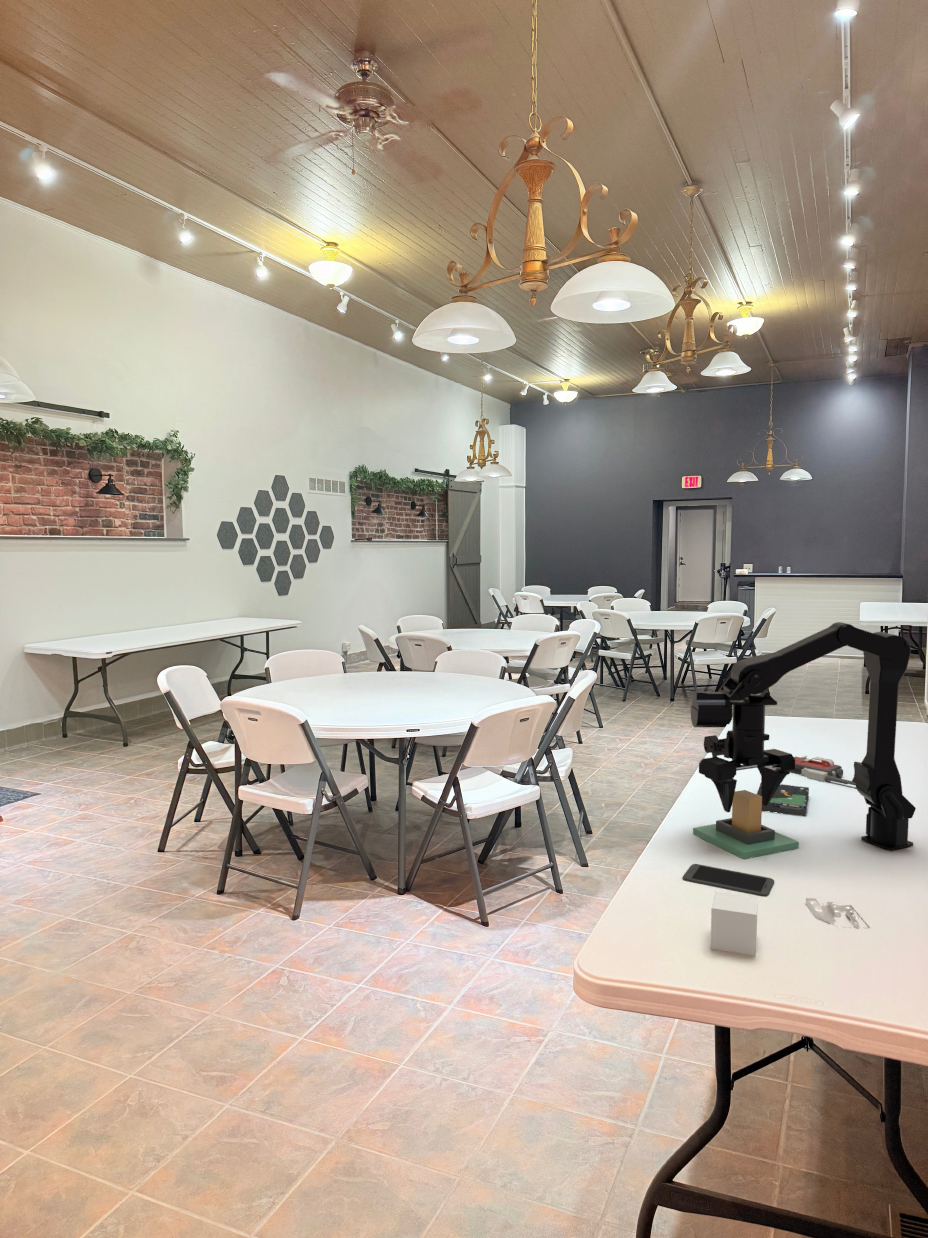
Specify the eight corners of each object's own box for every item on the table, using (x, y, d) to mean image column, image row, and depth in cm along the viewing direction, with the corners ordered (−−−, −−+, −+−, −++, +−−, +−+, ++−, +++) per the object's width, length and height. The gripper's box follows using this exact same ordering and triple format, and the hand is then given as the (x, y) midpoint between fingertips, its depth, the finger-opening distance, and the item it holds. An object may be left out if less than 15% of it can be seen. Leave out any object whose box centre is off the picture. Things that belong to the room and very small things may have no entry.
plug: (760, 838, 153) (762, 796, 152) (748, 840, 152) (749, 798, 151) (740, 829, 158) (742, 788, 157) (728, 831, 157) (729, 790, 156)
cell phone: (692, 867, 144) (692, 862, 144) (775, 883, 137) (775, 878, 137) (680, 882, 137) (681, 878, 137) (767, 900, 130) (767, 895, 130)
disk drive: (759, 793, 186) (754, 812, 173) (759, 781, 186) (754, 799, 172) (808, 799, 182) (806, 819, 168) (809, 787, 182) (807, 805, 168)
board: (798, 848, 151) (799, 832, 151) (744, 859, 146) (744, 843, 146) (744, 824, 164) (745, 810, 164) (693, 834, 159) (693, 819, 158)
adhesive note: (756, 937, 118) (758, 897, 117) (755, 957, 112) (757, 915, 111) (713, 930, 120) (714, 890, 119) (710, 949, 114) (711, 908, 114)
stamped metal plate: (805, 906, 128) (805, 897, 128) (850, 908, 127) (851, 899, 127) (821, 930, 120) (822, 920, 120) (870, 932, 120) (871, 923, 120)
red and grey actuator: (775, 773, 202) (857, 791, 186) (776, 755, 201) (857, 772, 186) (793, 766, 207) (874, 784, 192) (794, 749, 207) (874, 765, 192)
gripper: (755, 715, 164) (753, 790, 165) (680, 723, 156) (678, 802, 158) (798, 726, 153) (795, 806, 155) (720, 736, 146) (718, 820, 147)
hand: (746, 808), depth 154 cm, fingers open, 9 cm apart
